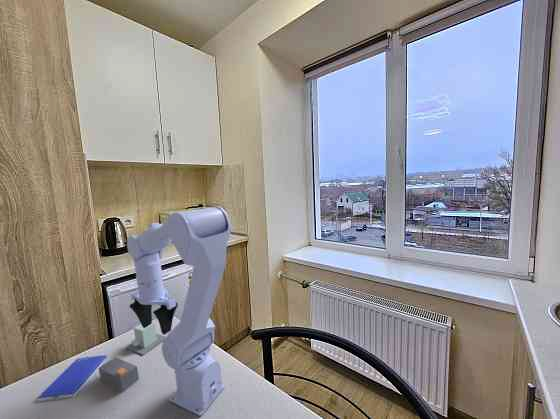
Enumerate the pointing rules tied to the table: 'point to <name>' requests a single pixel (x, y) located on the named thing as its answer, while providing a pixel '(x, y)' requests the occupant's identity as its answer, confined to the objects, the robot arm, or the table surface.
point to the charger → (144, 335)
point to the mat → (145, 350)
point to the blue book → (73, 378)
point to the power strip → (119, 374)
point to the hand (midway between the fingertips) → (156, 328)
